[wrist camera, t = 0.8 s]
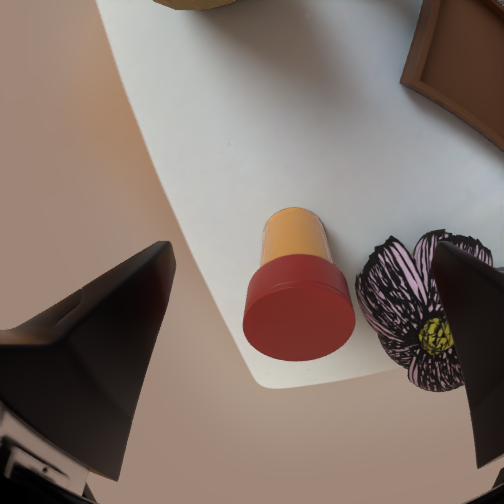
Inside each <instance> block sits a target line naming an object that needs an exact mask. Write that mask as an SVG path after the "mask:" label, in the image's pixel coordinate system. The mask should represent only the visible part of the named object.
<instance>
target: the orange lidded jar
mask: <svg viewBox="0 0 504 504" xmlns="http://www.w3.org/2000/svg"><path fill="white" fill-rule="evenodd" d="M291 254H310V255H315V256H318V257H321V258H324V259H326V260H328V261H330V262H331V263H332V258H331V254H330V250H329V246H328V242H327V238H326V234H325V230H324V227H323V224H322V222H321V220H320V219H319V218H318V217H317V216H316V215H315V214H314V213H312V212H310V211H308V210H306V209H302V208H287V209H283V210H281V211H279V212H277V213H275V214H274V215H273V216H272V217H270V219H269V220H268V221H267V223H266V225H265V227H264V231H263V241H262V250H261V260H260V268H261V267H262V266H263V265H264V264H266V263H268V262H269V261H271V260H273V259H276V258H278V257H281V256H285V255H291Z"/></svg>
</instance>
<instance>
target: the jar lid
mask: <svg viewBox="0 0 504 504" xmlns="http://www.w3.org/2000/svg"><path fill="white" fill-rule="evenodd" d="M354 327H355V314H354V310H353V306H352V301H351V297H350V293H349V289H348V286H347V282H346V279H345V277H344V275H343V273H342V272H341V271H340V269H339V268H338V267H336V266H335V265H334V264H333V263H331V262H330V261H328V260H326V259H324V258H321V257H318V256H315V255H310V254H291V255H285V256H281V257H278V258H276V259H273V260H271V261H269V262H268V263H266V264H264V265H263V266H262V267H261V268H260V269H258V270H257V272H256V273H255V274H254V275H253V277H252V278H251V280H250V283H249V286H248V291H247V298H246V304H245V311H244V318H243V332H244V334H245V337H246V339H247V340H248V342H249V343H250V344H251V345H252V346H253V347H254V348H255V349H256V350H258V351H259V352H261V353H263V354H264V355H267V356H269V357H272V358H275V359H279V360H284V361H308V360H314V359H317V358H321V357H324V356H326V355H328V354H331V353H332V352H334V351H336V350H337V349H339V348H340V347H341V346H343V345H344V344H345V343H346V342H347V340H348V339H349V338H350V336H351V335H352V333H353V330H354Z"/></svg>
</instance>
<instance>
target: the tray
mask: <svg viewBox="0 0 504 504" xmlns="http://www.w3.org/2000/svg"><path fill="white" fill-rule="evenodd" d="M400 83H401V84H403V85H405V86H407V87H409V88H411V89H412V90H414V91H416V92H418V93H420V94H421V95H423V96H425V97H427V98H428V99H430V100H432V101H433V102H435V103H437V104H438V105H440V106H441V107H443V108H445V109H446V110H448V111H449V112H451V113H452V114H454V115H455V116H457V117H458V118H460V119H461V120H463V121H464V122H465V123H467V124H468V125H470V126H471V127H472V128H474V129H475V130H476V131H478V132H479V133H480V134H482V135H483V136H484V137H486V138H487V139H488V140H489V141H491V142H492V143H493V144H494V145H496V146H497V147H498V148H499V149H500V150H502V151H503V152H504V6H502V5H501V4H500V3H499V2H498V1H497V0H423V4H422V8H421V12H420V15H419V19H418V23H417V27H416V30H415V34H414V37H413V41H412V44H411V48H410V51H409V54H408V58H407V61H406V64H405V67H404V70H403V73H402V76H401V79H400Z"/></svg>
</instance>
